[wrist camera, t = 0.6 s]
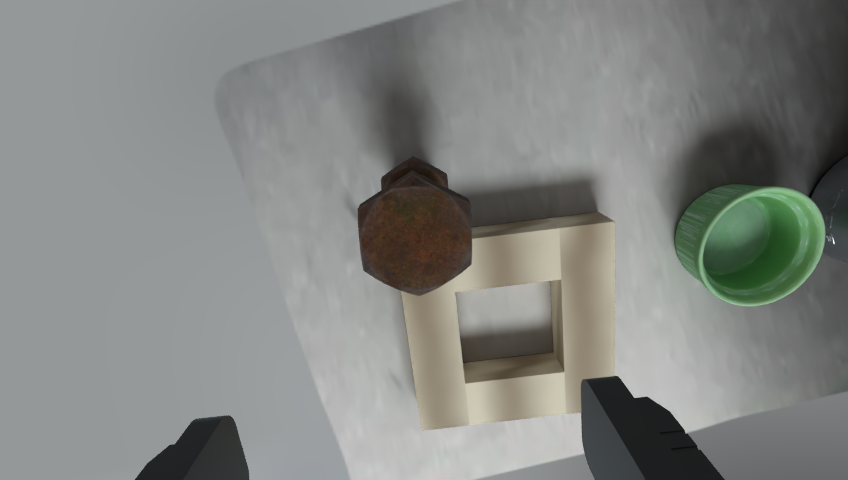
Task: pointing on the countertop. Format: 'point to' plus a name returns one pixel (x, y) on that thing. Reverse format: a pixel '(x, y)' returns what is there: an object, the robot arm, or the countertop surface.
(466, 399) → the frame
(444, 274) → the bolt
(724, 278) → the ramekin
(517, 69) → the countertop surface
